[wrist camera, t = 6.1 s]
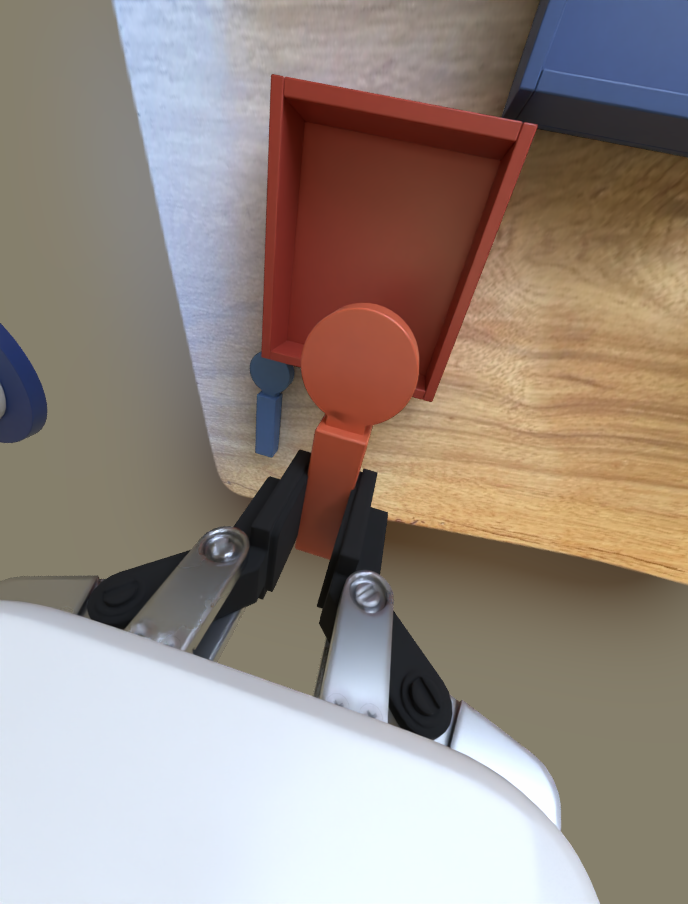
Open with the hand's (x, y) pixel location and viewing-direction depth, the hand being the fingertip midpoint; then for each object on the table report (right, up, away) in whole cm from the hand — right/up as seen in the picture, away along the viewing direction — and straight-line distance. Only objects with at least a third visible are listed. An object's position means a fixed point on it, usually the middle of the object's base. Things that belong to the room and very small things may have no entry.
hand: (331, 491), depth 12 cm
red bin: (+2, +13, +7) cm, 15 cm away
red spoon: (0, +2, -1) cm, 2 cm away
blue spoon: (-5, +6, +14) cm, 16 cm away
